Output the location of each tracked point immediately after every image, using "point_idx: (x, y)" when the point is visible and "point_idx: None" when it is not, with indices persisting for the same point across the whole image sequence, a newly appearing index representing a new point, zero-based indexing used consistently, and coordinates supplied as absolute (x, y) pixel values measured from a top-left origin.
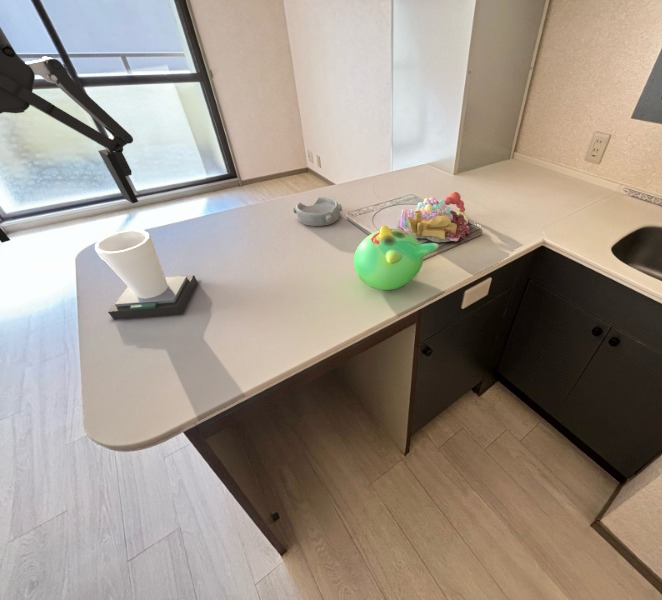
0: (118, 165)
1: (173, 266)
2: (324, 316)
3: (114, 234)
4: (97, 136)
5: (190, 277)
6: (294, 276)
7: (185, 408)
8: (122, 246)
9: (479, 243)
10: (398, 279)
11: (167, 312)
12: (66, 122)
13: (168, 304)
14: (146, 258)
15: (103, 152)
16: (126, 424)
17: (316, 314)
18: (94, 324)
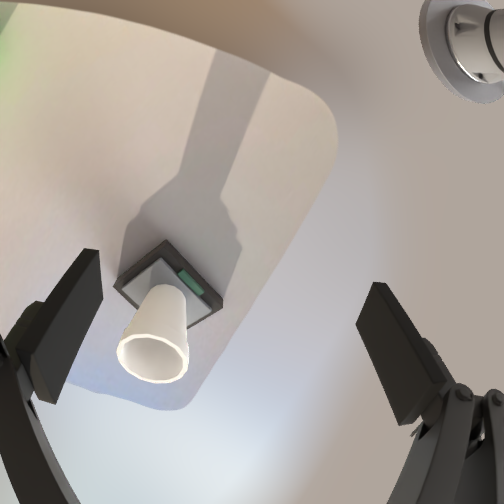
0: (36, 319)
1: (122, 330)
2: (59, 64)
3: (152, 379)
4: (5, 410)
5: (119, 285)
6: (25, 174)
7: (271, 89)
8: (155, 363)
9: None
10: None
11: (177, 254)
12: (55, 497)
13: (168, 260)
14: (145, 318)
15: (41, 381)
16: (316, 133)
17: (61, 76)
18: (240, 309)
